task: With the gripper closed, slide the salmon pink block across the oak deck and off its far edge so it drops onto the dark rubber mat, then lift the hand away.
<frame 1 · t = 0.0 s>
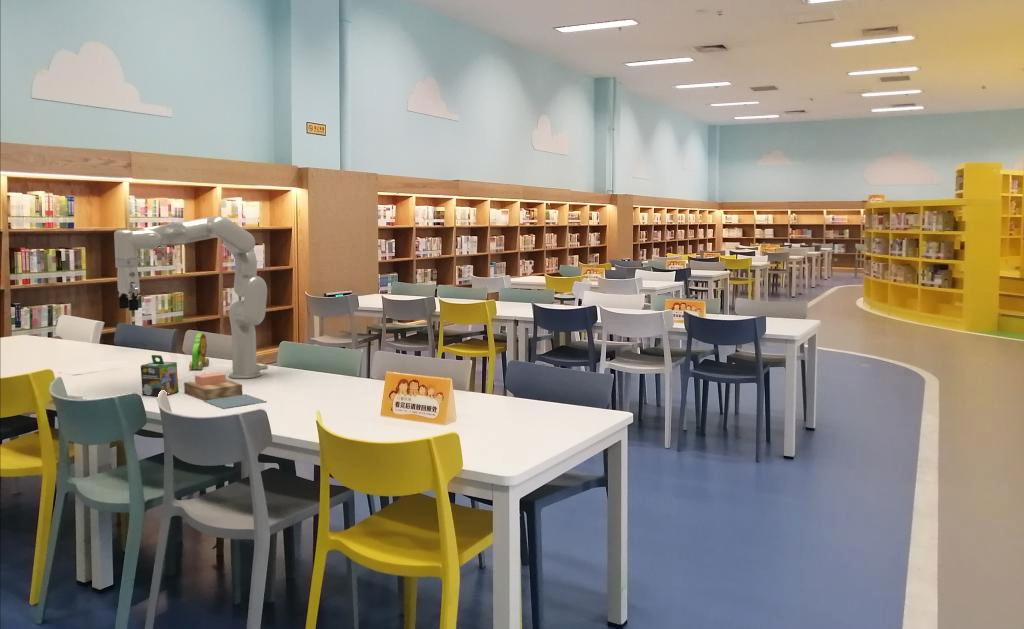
hand: (128, 309, 296), 31 cm above the table, tool pointing down, fingers open, 9 cm apart
deck: (213, 394, 296), on the table
salmon pink block: (210, 382, 297), point 4 cm above the table, touching deck
toy lion: (200, 368, 351), on the table
green printed box: (160, 394, 296), on the table
mat: (235, 401, 284), on the table
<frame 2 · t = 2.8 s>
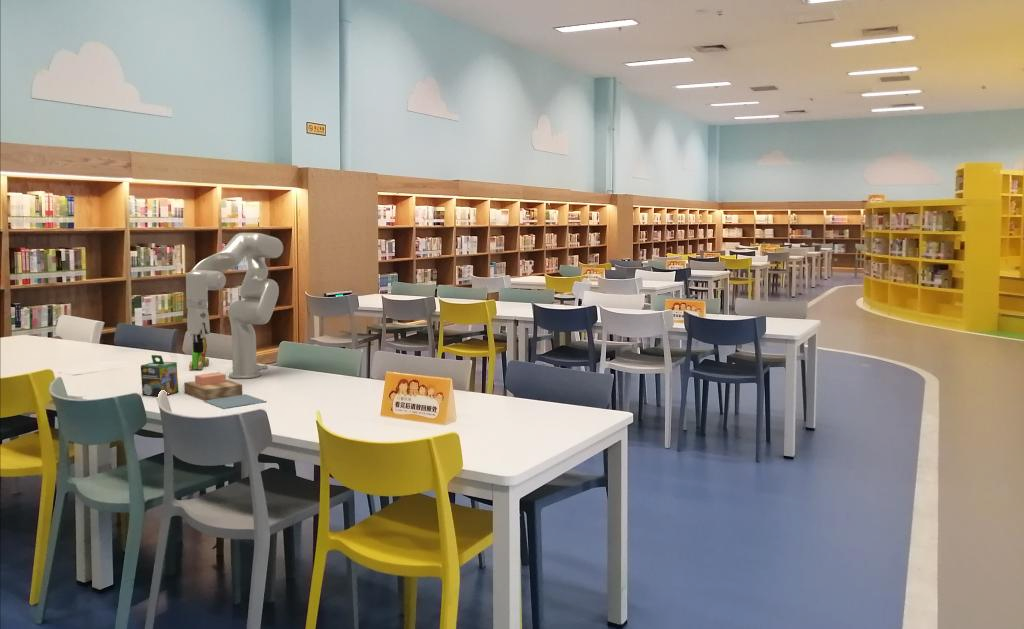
hand: (198, 352, 302), 15 cm above the table, tool pointing down, fingers closed
nothing on the table moved.
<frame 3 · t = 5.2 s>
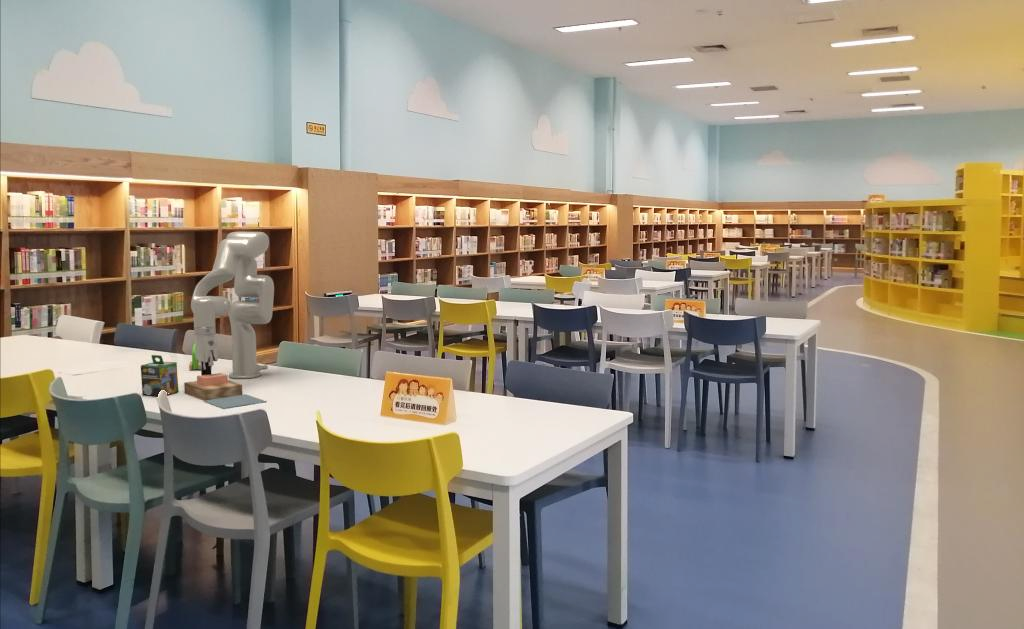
hand: (206, 379, 299), 5 cm above the table, tool pointing down, fingers closed
salmon pink block: (212, 383, 296), point 4 cm above the table, touching deck, gripper
everything else where it was.
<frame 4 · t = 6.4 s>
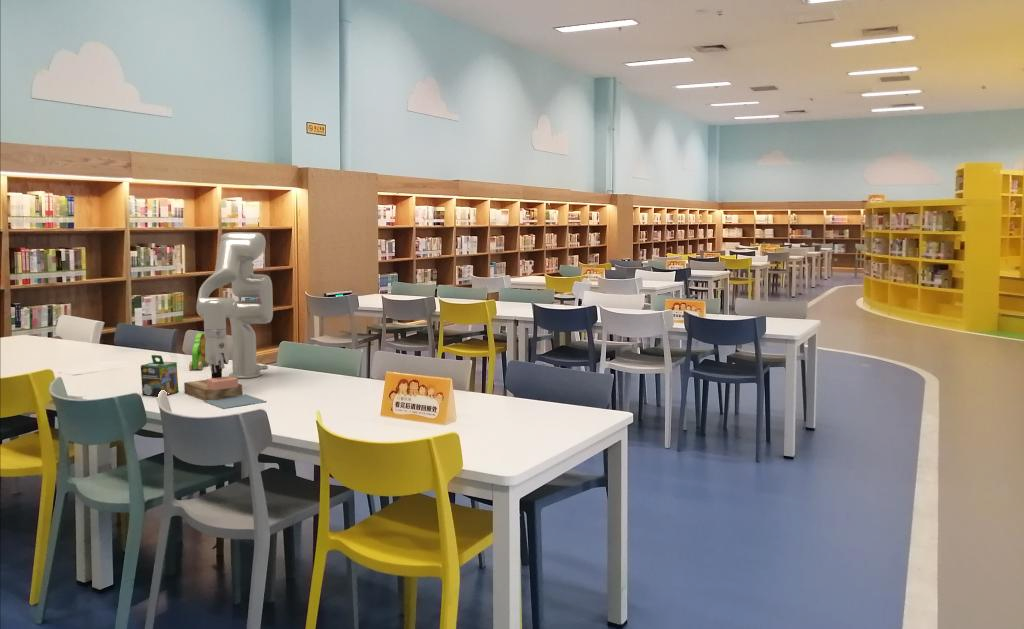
hand: (216, 382, 293), 5 cm above the table, tool pointing down, fingers closed
salmon pink block: (222, 387, 290), point 4 cm above the table, touching gripper
everything else where it was.
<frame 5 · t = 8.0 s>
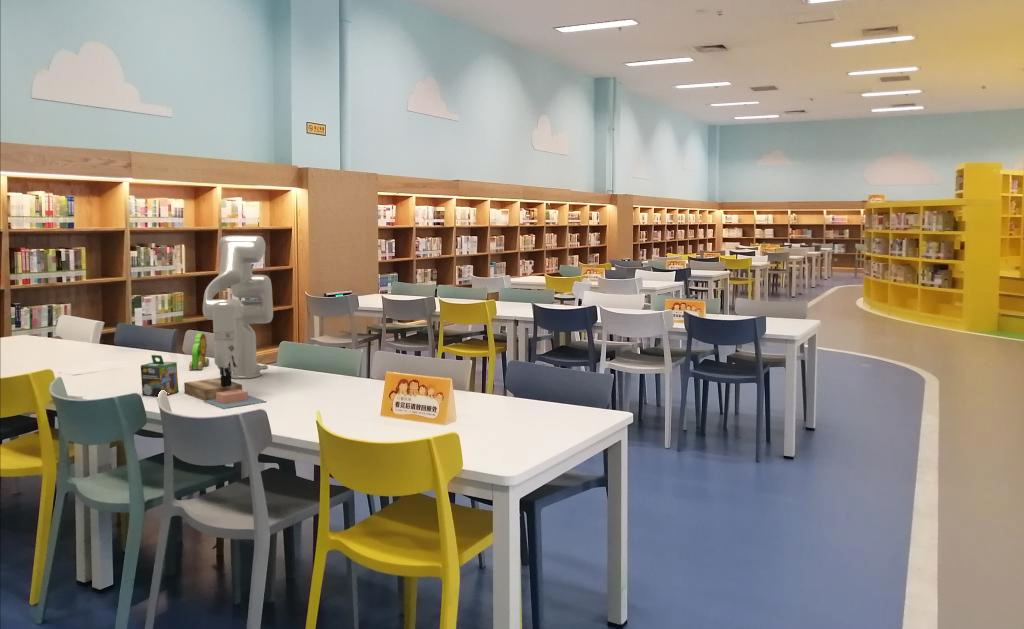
hand: (226, 386, 288), 5 cm above the table, tool pointing down, fingers closed
salmon pink block: (231, 392, 284), point 3 cm above the table, tilted 180°, touching mat
everything else where it was.
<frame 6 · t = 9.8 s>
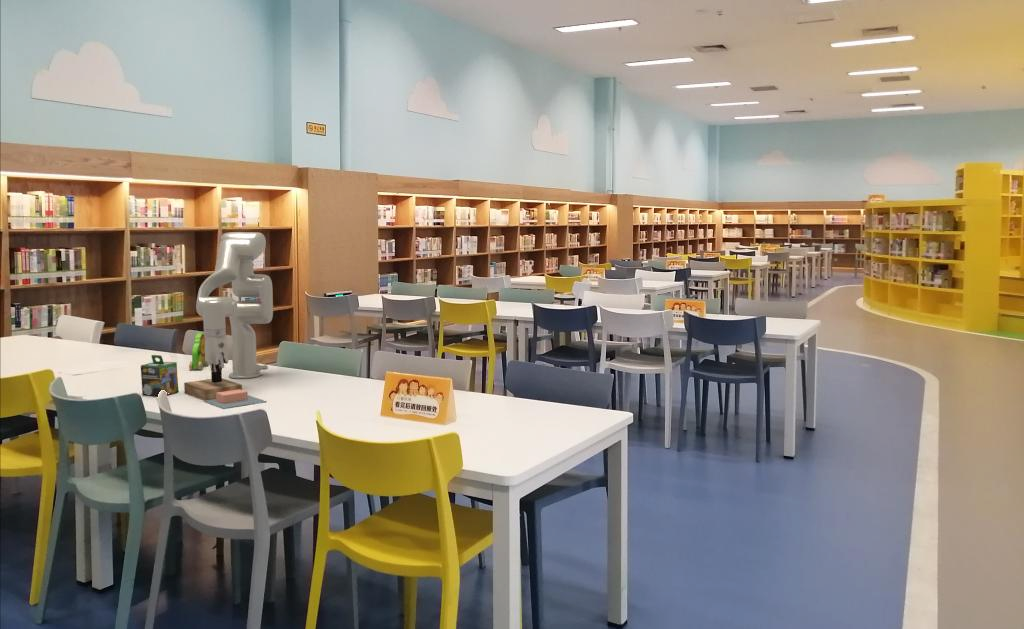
hand: (216, 381, 294), 5 cm above the table, tool pointing down, fingers closed
nothing on the table moved.
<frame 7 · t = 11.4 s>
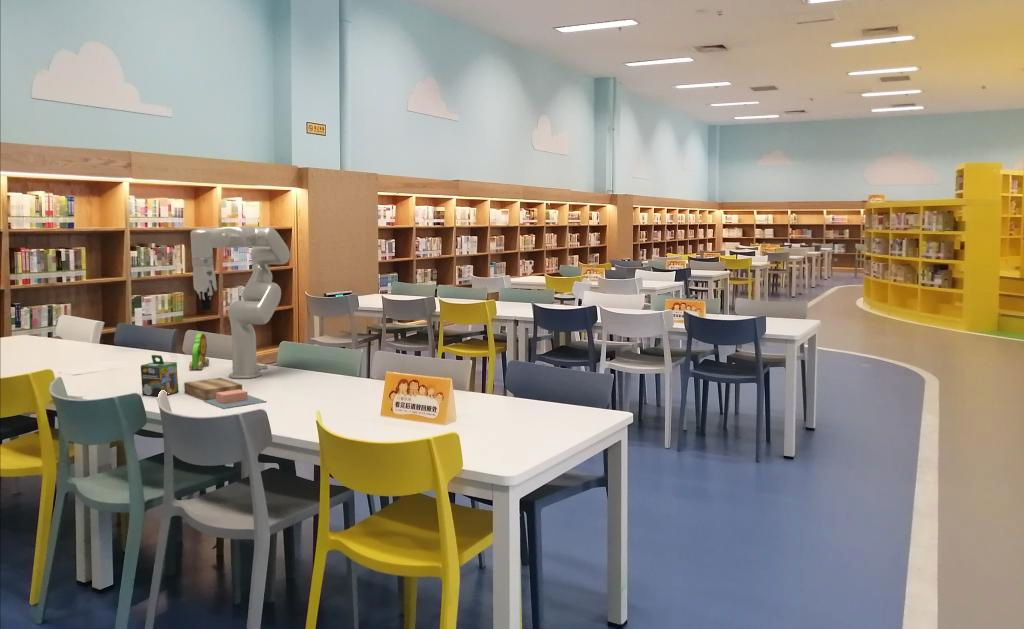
hand: (205, 309, 306), 30 cm above the table, tool pointing down, fingers closed
nothing on the table moved.
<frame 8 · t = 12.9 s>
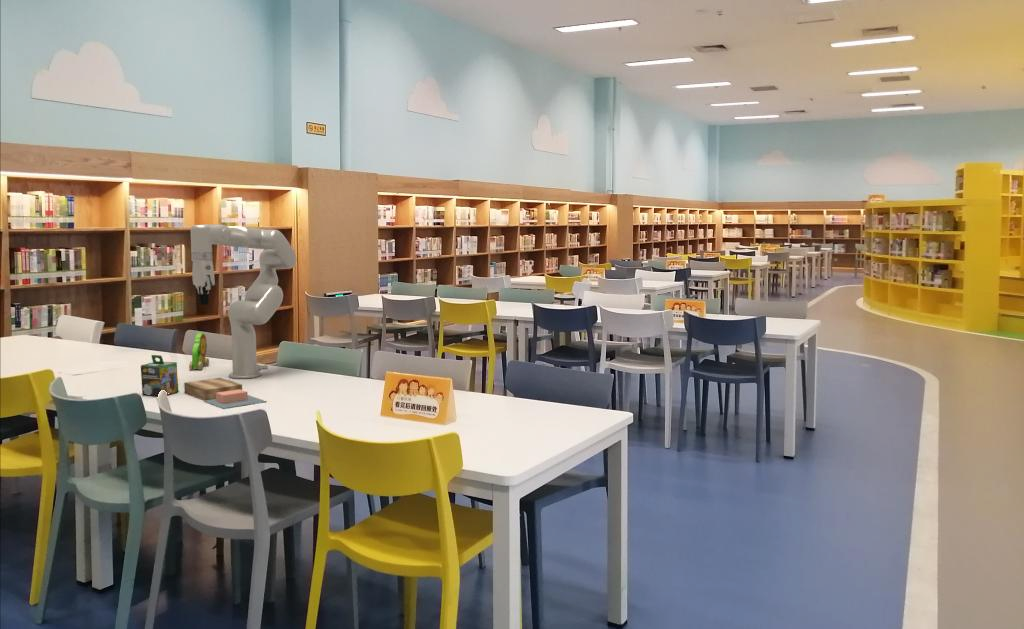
hand: (203, 304, 308), 32 cm above the table, tool pointing down, fingers closed
nothing on the table moved.
at the end: salmon pink block inside the target area (1.7 cm from its centre), point 3.3 cm above the table; salmon pink block point 3.3 cm above the table; salmon pink block touching mat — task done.
